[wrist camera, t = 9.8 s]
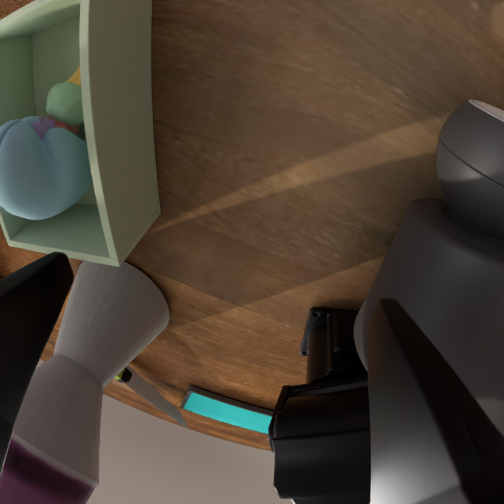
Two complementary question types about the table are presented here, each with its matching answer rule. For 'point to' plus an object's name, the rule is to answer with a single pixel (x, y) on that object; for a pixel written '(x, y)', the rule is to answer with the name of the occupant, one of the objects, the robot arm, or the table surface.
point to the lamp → (79, 385)
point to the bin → (88, 119)
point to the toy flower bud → (45, 157)
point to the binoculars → (455, 258)
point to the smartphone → (226, 410)
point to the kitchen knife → (148, 393)
